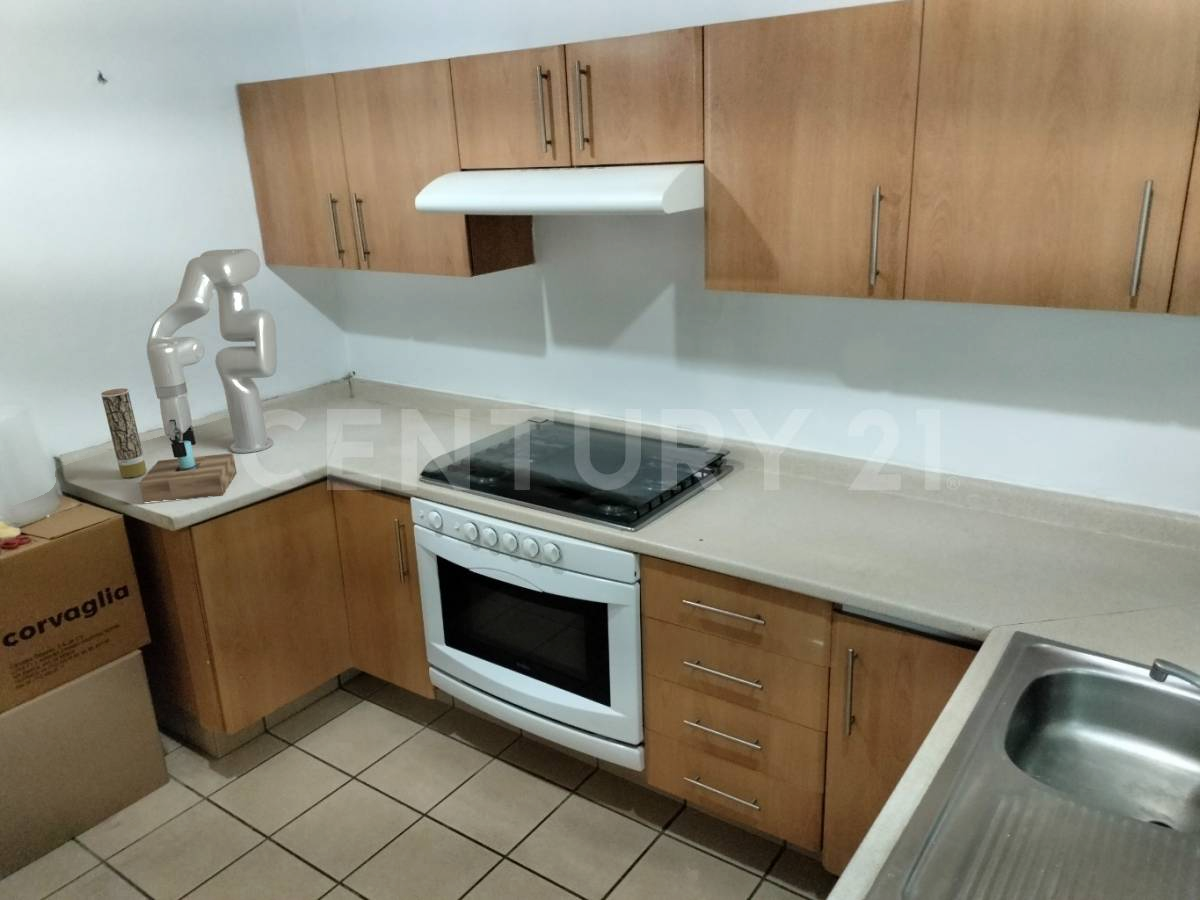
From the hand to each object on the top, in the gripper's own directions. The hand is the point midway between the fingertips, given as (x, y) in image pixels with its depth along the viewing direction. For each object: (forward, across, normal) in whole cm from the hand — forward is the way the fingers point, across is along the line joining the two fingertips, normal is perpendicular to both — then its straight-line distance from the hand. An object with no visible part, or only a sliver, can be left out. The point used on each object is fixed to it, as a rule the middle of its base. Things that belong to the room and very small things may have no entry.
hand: (185, 450), depth 245 cm
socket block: (+11, +1, 0) cm, 11 cm away
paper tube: (+11, -16, -20) cm, 28 cm away
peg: (+10, +1, 0) cm, 10 cm away
